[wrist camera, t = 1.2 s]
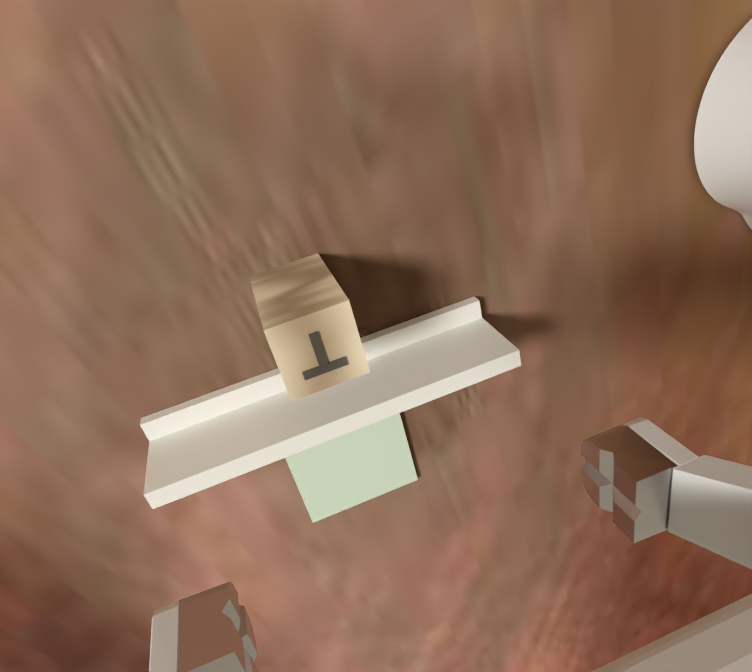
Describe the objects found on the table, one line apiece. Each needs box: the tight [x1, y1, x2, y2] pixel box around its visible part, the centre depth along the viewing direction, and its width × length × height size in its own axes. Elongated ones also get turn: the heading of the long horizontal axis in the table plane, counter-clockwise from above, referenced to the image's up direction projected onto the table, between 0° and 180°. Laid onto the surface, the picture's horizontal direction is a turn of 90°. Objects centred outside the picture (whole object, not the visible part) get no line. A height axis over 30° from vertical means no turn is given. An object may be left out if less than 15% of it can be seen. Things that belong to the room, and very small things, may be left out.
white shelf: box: [140, 297, 521, 509], centre depth 36 cm, size 24×4×6 cm, turn 104°
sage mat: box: [285, 413, 418, 523], centre depth 42 cm, size 9×9×1 cm
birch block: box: [249, 254, 370, 401], centre depth 32 cm, size 4×4×8 cm
